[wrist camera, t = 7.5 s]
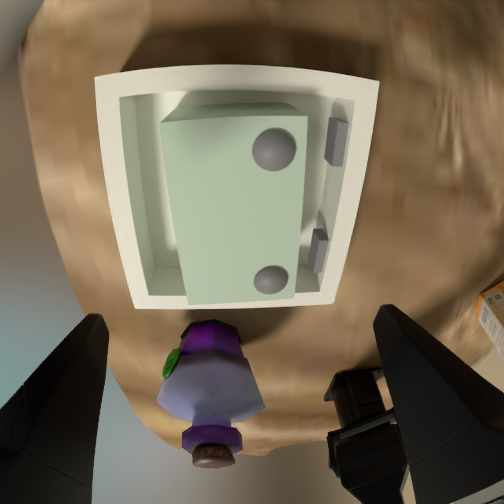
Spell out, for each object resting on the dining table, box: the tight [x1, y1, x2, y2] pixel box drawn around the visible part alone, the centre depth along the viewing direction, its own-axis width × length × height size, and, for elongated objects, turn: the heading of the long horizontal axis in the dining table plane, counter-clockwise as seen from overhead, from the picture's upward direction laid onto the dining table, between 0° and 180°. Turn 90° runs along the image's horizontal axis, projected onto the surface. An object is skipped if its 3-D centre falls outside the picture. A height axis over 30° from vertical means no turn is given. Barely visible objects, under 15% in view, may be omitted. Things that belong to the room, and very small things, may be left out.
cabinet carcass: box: [95, 65, 379, 309], centre depth 17 cm, size 14×13×4 cm
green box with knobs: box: [160, 102, 308, 305], centre depth 16 cm, size 10×6×5 cm, turn 1°
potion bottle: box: [156, 319, 265, 468], centre depth 22 cm, size 9×9×12 cm
